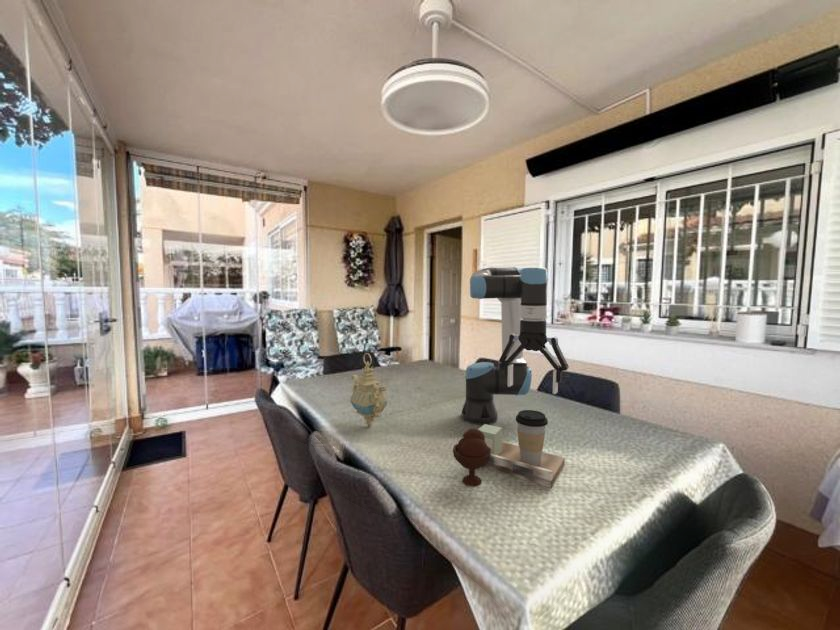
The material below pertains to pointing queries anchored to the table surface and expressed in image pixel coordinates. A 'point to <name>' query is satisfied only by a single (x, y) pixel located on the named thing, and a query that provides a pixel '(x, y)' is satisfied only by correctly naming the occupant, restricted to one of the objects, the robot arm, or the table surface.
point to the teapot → (368, 394)
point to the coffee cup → (531, 435)
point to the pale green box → (492, 438)
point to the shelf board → (526, 465)
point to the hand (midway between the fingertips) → (531, 389)
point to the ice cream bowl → (472, 454)
